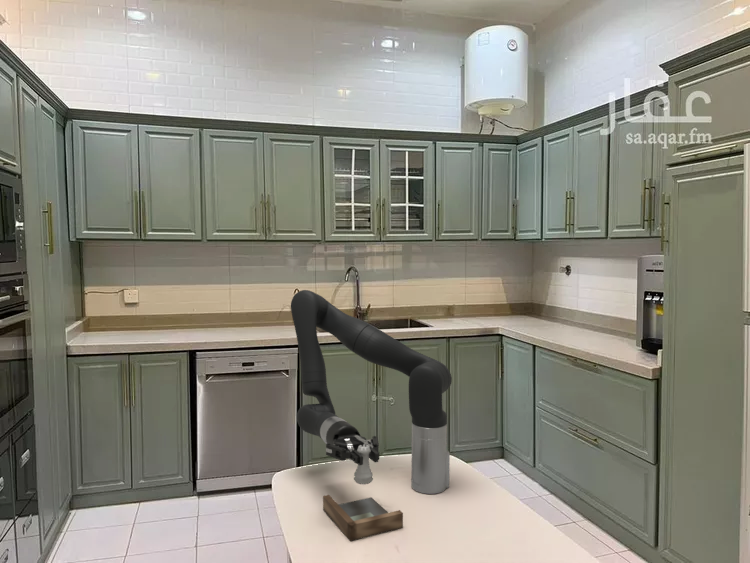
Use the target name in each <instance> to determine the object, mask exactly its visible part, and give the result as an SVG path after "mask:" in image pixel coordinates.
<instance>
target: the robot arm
mask: <svg viewBox="0 0 750 563" xmlns="http://www.w3.org/2000/svg"><path fill="white" fill-rule="evenodd" d="M290 312H291V313H290V314H291V316H292V322H293V326H294V329H295V334H296V339H297V347H298V354H299V361H300V362H299V363H300V374H301V377H300V378H301V390H302V393H303V394H304V395H305V396H309V397H314V398H315V399H316V400H317V402H318V403H311V404H309V403H308V404H304V405H302V406H300V408H299V409H298V411H297V413H296V421H297V424H298V426H299V428H300V429H301V430H302V431H304V432H305V433H307V434H311V435H313V436H315V437H316V436H317V437H319V438H320V439H321V440H322V442H323V443H324V444H325V456H328V457H331V458H333V459H336V460H339V461H342V462H344V461H346V460H347V459H348V460H349V461H352V462H353V463H355V465H356V464H357V466H358V465H363V456H362V455H361V454H360V453H359V452H358V451H357V449H358V446H359V445H362V447H363V445H365V447H366V445H368V446H369V448H370V450H371V452H370V453H369V456H370V458H369V460H371V461H373V462H374V463H375V464H377V463H379V460H380V452H379V448H380V447H379V439H378V436H376V435H374V436H372V438H370V439H367V438H366V437H365V436H362V435H361V434H360V432H359V430H358V429H357V428H356V427H354V426H353V425H352V424H351V423H350V422H348V421H346V420H345V419H343V418H341V417H339V416H338V415H337V414H336V411H335V406H334V405H333V402H332V399H331V397H330V392H329V390H328V389H329V388H328V384H327V370H326V369H327V368H326V363H325V358H324V355H323V352H322V349H321V346H320V342H319V338H318V332H317V328H318V329H321V330H322V331H324V332H326V333H329V334H330V335H332V336H333V337H335V338H336V339H337V340H338V341H339V342H340V343H341V344H342V345H343V346H344V347H346V348H347V349H348V350H349V351H351V352H352V353H354V354H355V355H356V356H359V357H360V358H362V359H364V360H365V361H366V362H367V361H368V362H369V363H372V364H374V365H378V366H381V367H384V368H389V369H391V370H395V371H398V372H400V373H402V374H404V375H405V376H407V377H408V410H409V413H410V416H411V473H410V474H411V479H410V480H411V488H412V489H413V490H414V491H416V492H418V493H421V494H428V495H429V494H430V495H431V494H439V493H442V492H444V491H445V490H446V489H448V488H450V468H451V467H450V465H451V464H450V462H451V461H450V460H451V456H450V455H451V453H450V452H449V450H447V448H448V447H447V446H448V445H447V441H448V440H447V438H448V436H447V435H448V434H447V429H448V428H447V426H448V415H447V412H446V411H445V410H443V394H445V392H446V391H448V390H449V388H450V387H451V385H452V383H453V382H452V381H453V379H452V373H451V372H450V370H449V368H448V367H447V365H445V364H444V363H443V362H441V361H439V360H437V359H434V358H432V357H430V356H427V355H425V354H423V353H421V352H418V351H417V350H414V349H413V348H410V347H409V346H407V345H406V344H404V343H403V342H400V341H399V340H397V339H396V338H395V337H392V336H391V335H389V334H387V333H386V332H384V331H382V330H381V329H379V328H377V327H376V326H374V325H373V324H371V323H368V322H366V321H364V320H362V319H360V318H358V317H355V316H351V315H349V314H347V313H345V312H344V311H342V310H340V309H339V308H338V307H336V306H335V305H333V304H332V303H331V302H329V301H328V300H327V299H326V298H325V297H323V296H322V295H320V294H318V293H315V292H314V291H311V290H308V289H302V290H299V291H298V292H296V293H295V294H294V295H293V297H292V299H291V302H290Z"/></svg>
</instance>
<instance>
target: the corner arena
mask: <svg viewBox="0 0 750 563" xmlns="http://www.w3.org/2000/svg"><path fill="white" fill-rule="evenodd" d="M322 510H323V512H324V513H325V514H326V516H327V517H329V518H330V520H331V521H332V522H333V524H334V525H335V526H336V527H337V529H339V530H340V532H342V534H343V535H344V536H345V537H346V538H347V539H348V541H349V542H353V541H354V542H355V541H358V540H361V539H365V538H370V537H373V536H378V535H380V534H386V533H390V532H392V531H396V530H397V531H398V530H401V529H403V528H404V512H402V510H400V509H399V510H395V511H390V512H388V510H387V509H385V508H384V507H383V506H382V505H381V504H379V502H378V501H376V500H375V499H374V498H373V497H371V496H370V497H366V498H362V499H357V500H352V501H348V502H344V503H337V501H336V500H334V498H332V496H331V495H329V494H326V495H323V496H322Z"/></svg>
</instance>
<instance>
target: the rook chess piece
mask: <svg viewBox="0 0 750 563" xmlns="http://www.w3.org/2000/svg"><path fill="white" fill-rule="evenodd" d="M357 451H358V452H359V453H360V454H361V455H362V456H363V465H358V464H357V468H356V469H355V472H354V475H353V476H354V477H353V480H354V482H355V484H359V485H369V484H371V483H372V482H373V480H374V478H373V477H374V476H373V475H374V474H373V472H372V469H371V467H370V456H369V453H370V452H371V450H370V448H369V446H368V445H366V447H365V445H363V447H362V445H359V446H358V449H357Z"/></svg>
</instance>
